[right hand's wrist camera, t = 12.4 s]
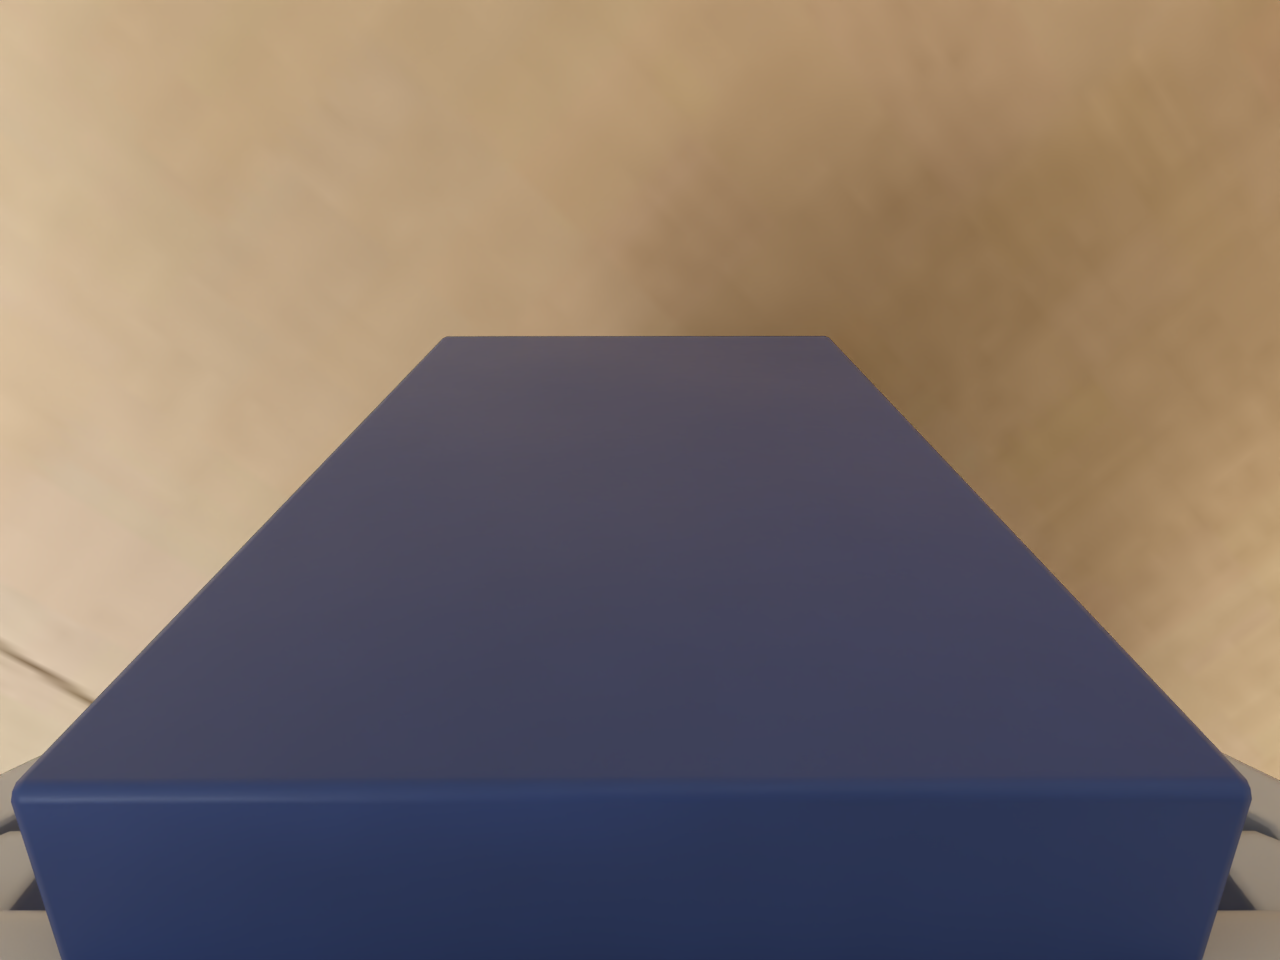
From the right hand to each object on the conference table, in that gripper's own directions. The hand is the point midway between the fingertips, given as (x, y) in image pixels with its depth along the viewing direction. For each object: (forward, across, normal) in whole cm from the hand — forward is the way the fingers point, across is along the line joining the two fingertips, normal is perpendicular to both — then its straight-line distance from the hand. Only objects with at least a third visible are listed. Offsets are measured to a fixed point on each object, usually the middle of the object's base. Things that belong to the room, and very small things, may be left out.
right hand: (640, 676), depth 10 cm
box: (+5, 0, -11) cm, 12 cm away
